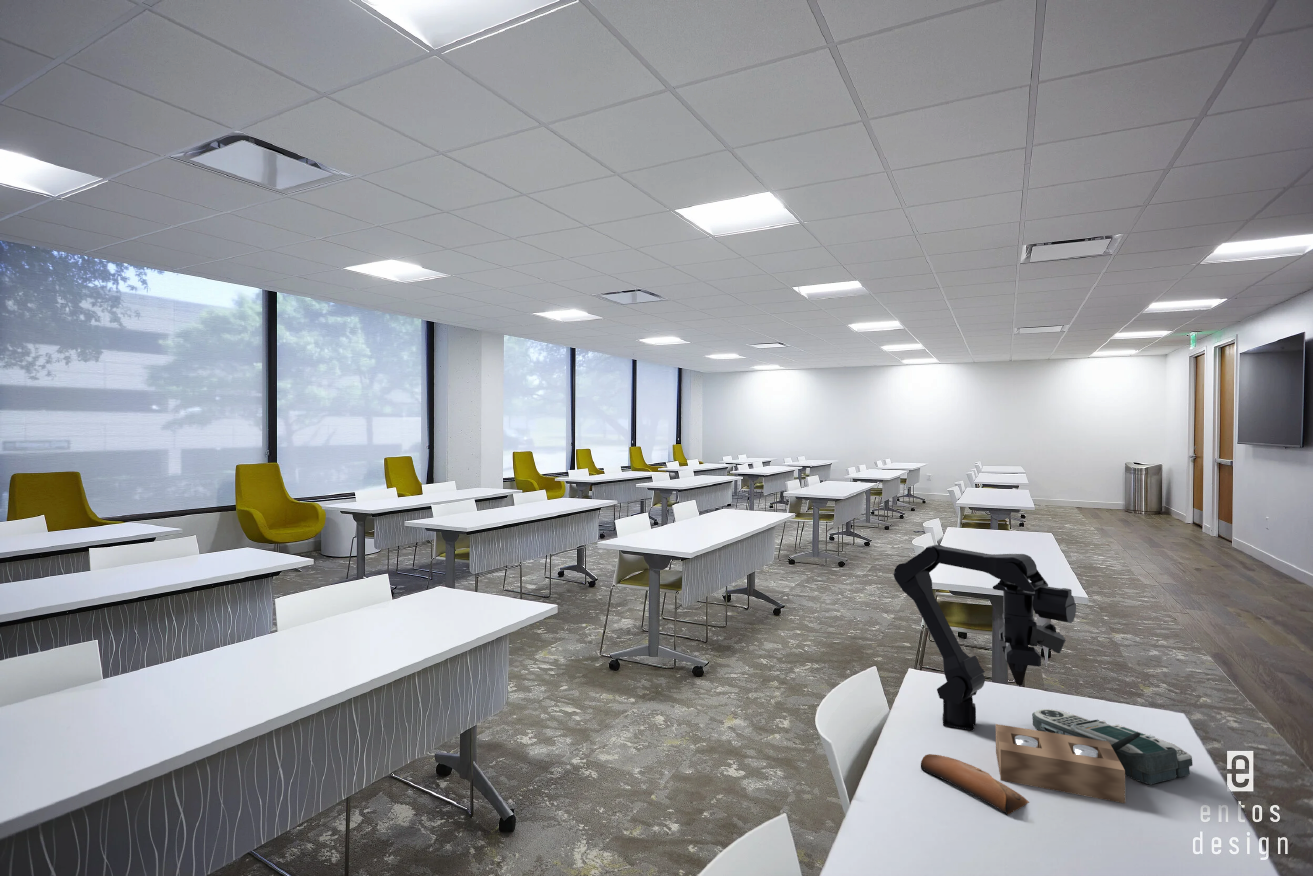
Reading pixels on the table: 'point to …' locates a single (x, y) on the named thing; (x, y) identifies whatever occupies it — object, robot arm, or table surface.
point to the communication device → (1122, 745)
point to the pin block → (1060, 764)
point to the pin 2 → (1085, 750)
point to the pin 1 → (1026, 741)
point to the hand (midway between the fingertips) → (1019, 684)
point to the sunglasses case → (974, 782)
